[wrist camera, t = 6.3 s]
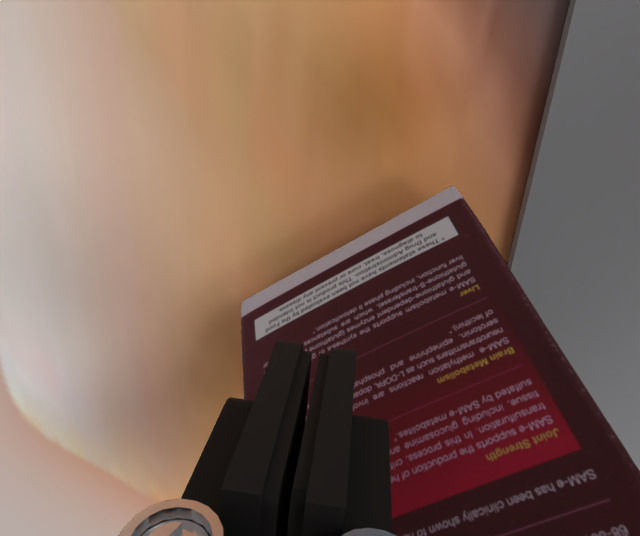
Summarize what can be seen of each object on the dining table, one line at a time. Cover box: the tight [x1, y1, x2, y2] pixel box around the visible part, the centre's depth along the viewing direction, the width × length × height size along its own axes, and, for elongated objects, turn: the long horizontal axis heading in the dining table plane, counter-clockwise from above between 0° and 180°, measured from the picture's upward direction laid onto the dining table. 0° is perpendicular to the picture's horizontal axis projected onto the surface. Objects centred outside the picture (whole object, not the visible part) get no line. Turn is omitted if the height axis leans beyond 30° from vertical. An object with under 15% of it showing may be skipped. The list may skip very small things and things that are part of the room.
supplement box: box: [241, 186, 640, 536], centre depth 12 cm, size 9×5×16 cm, turn 121°
